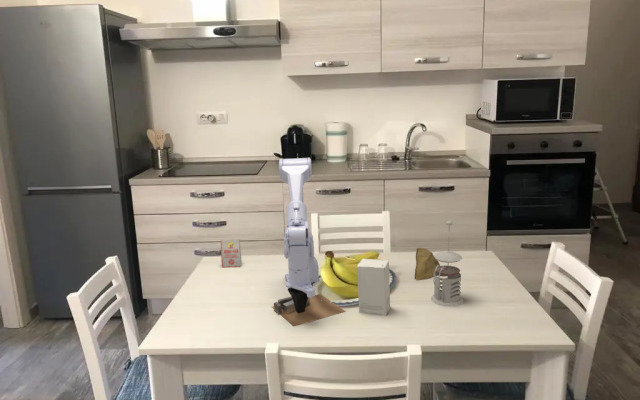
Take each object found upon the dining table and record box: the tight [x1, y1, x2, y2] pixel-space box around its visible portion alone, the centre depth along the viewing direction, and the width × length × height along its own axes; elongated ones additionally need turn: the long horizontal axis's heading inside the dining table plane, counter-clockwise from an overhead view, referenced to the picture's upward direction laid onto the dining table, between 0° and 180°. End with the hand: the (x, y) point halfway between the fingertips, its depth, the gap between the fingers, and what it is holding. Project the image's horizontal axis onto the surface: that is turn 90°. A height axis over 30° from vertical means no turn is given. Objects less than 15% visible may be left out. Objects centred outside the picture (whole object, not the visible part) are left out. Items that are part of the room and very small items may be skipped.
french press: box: [430, 220, 464, 307], centre depth 155 cm, size 10×12×25 cm
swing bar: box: [283, 298, 310, 314], centre depth 154 cm, size 9×2×3 cm, turn 132°
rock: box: [414, 247, 441, 281], centre depth 177 cm, size 11×9×10 cm
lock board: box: [271, 293, 347, 327], centre depth 153 cm, size 17×15×4 cm
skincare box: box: [356, 258, 391, 316], centre depth 150 cm, size 8×7×16 cm
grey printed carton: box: [220, 239, 243, 269], centre depth 192 cm, size 4×7×10 cm, turn 91°
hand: (300, 311), depth 148 cm, fingers closed
